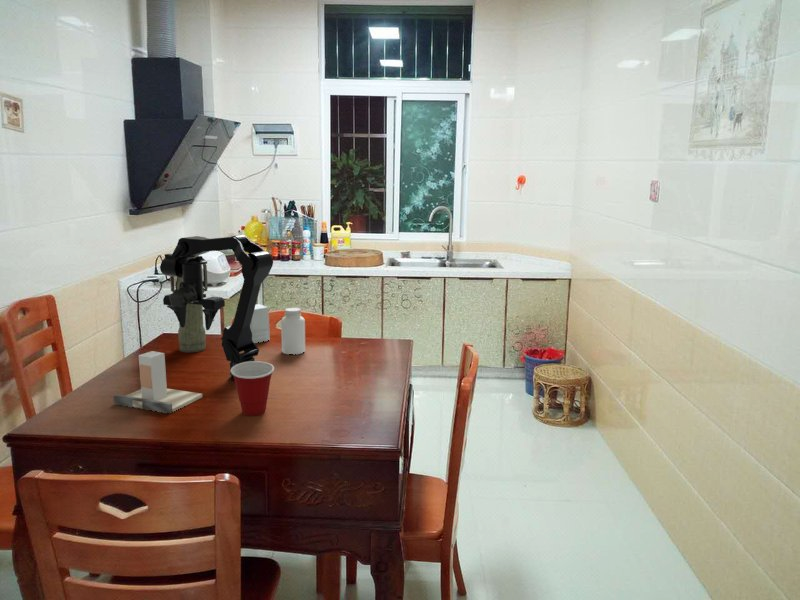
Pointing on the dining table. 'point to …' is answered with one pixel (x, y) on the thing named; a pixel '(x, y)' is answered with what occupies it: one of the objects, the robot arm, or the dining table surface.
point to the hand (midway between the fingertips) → (195, 328)
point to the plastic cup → (252, 385)
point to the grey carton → (153, 375)
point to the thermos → (192, 321)
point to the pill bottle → (293, 332)
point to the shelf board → (164, 405)
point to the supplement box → (260, 324)
